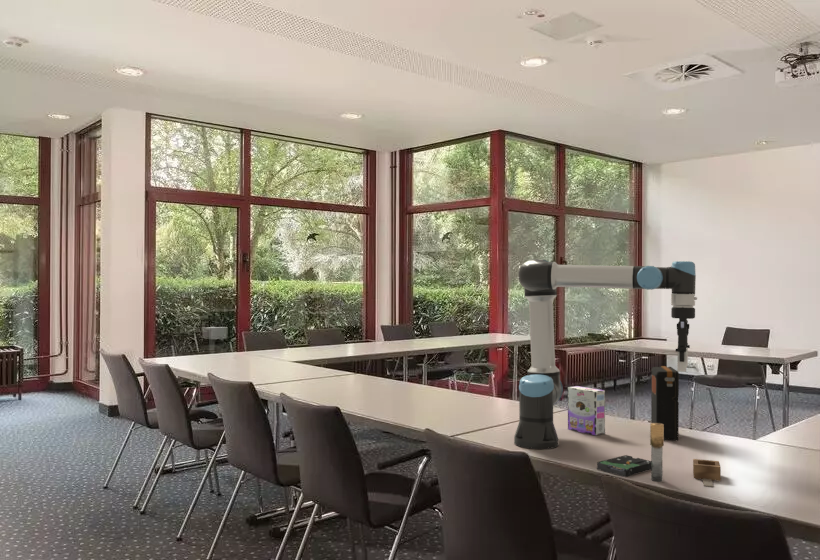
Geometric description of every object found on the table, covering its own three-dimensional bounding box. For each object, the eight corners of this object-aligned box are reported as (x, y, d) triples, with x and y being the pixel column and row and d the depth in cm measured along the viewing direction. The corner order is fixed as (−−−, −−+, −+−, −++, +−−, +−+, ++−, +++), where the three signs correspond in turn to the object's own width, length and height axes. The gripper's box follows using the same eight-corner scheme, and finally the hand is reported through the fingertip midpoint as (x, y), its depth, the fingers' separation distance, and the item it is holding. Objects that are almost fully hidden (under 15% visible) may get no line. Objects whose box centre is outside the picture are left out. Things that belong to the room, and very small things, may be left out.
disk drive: (625, 463, 216) (596, 470, 207) (625, 454, 216) (596, 461, 207) (654, 470, 208) (625, 478, 199) (655, 461, 208) (625, 468, 199)
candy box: (605, 434, 255) (605, 390, 255) (595, 436, 251) (595, 391, 251) (577, 427, 266) (577, 385, 266) (566, 429, 263) (567, 386, 263)
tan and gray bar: (650, 481, 195) (650, 424, 195) (650, 477, 198) (650, 422, 198) (663, 482, 193) (663, 425, 193) (663, 479, 197) (663, 423, 197)
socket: (693, 478, 197) (694, 464, 197) (693, 472, 204) (693, 458, 204) (720, 481, 195) (720, 467, 195) (718, 474, 201) (718, 461, 201)
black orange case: (681, 441, 243) (681, 371, 243) (655, 440, 245) (656, 370, 245) (673, 432, 258) (673, 366, 258) (649, 431, 260) (649, 365, 260)
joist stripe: (703, 486, 190) (703, 485, 190) (700, 467, 209) (700, 466, 209) (713, 487, 189) (713, 486, 189) (708, 467, 209) (708, 466, 209)
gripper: (694, 308, 220) (693, 374, 220) (695, 305, 242) (695, 365, 242) (669, 307, 223) (668, 372, 223) (673, 305, 245) (672, 364, 245)
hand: (682, 369), depth 233 cm, fingers open, 13 cm apart
